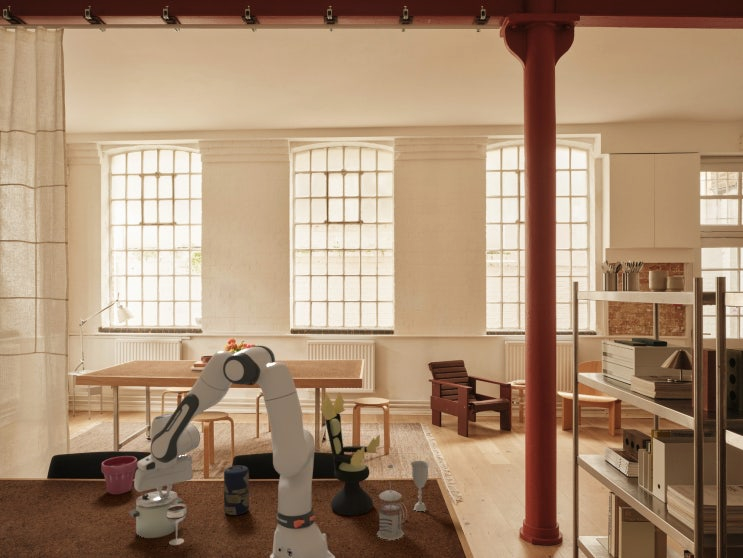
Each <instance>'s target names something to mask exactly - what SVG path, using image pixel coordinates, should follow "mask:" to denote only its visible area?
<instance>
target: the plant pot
mask: <svg viewBox="0 0 743 558" xmlns="http://www.w3.org/2000/svg"><path fill="white" fill-rule="evenodd" d="M137 462H138V459H137V457H135V456H133V455H131V456H130V455H124V456H123V455H122V456H115V457H110V458H108V459H105V460H104V461H102V462H101V473H102V474H103V476H104V481H105V485H106V489H107V493H108V494H111V495H120V494H121V495H122V494H125V493H128V492H130V491H131V490H132V489H133V488H132V486H133V484H134V482H133V481H134V479H135V473H136V470H137V469H138V466H137Z"/></svg>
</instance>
